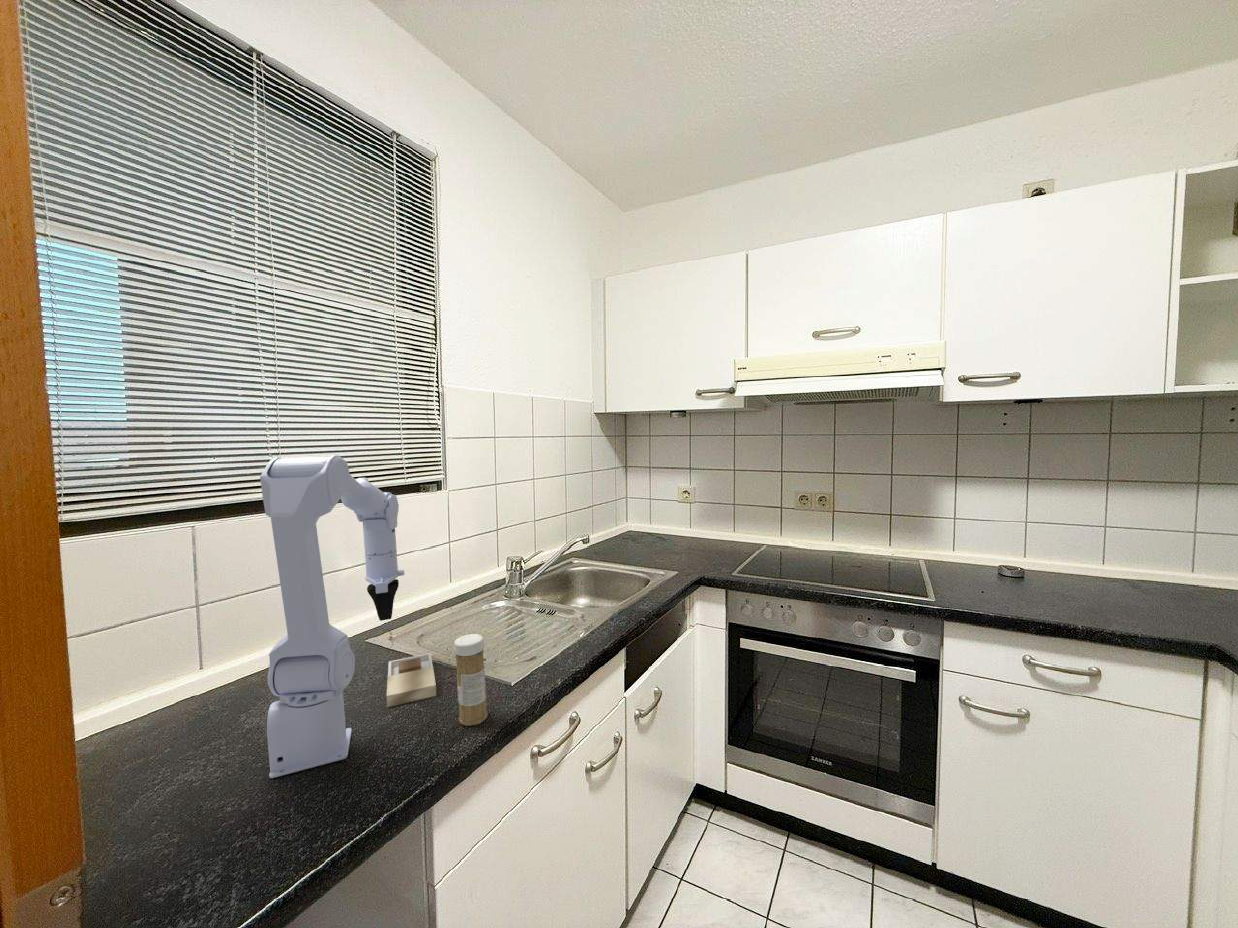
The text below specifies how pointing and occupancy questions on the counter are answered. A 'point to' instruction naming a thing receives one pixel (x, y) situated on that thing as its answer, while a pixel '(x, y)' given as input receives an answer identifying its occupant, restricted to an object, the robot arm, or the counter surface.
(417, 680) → the birch board
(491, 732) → the counter surface
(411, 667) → the walnut block
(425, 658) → the box
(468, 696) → the sprinkles bottle
